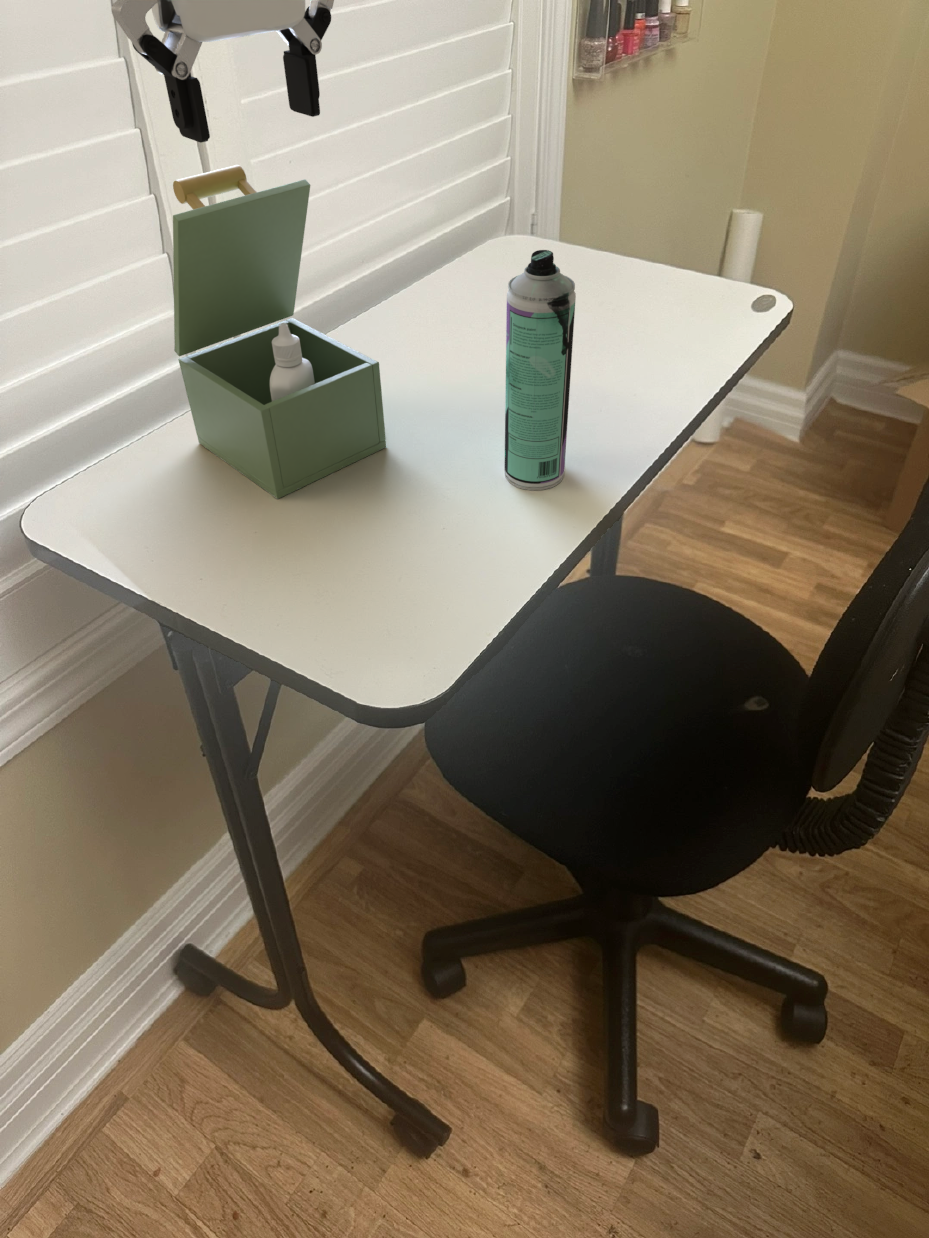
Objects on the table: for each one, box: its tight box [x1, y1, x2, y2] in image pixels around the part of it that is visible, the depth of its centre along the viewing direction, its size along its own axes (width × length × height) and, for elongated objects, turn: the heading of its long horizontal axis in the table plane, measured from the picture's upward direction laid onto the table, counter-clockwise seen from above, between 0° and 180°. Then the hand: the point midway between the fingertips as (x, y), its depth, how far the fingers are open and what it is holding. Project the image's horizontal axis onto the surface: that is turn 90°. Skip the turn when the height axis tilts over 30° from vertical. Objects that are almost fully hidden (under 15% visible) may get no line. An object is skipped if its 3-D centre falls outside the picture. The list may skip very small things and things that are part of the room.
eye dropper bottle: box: [270, 323, 315, 401], centre depth 82 cm, size 4×6×12 cm
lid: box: [172, 164, 311, 357], centre depth 80 cm, size 14×13×6 cm
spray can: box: [504, 249, 577, 491], centre depth 76 cm, size 6×6×20 cm
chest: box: [178, 317, 387, 500], centre depth 85 cm, size 14×13×9 cm
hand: (252, 125), depth 68 cm, fingers open, 9 cm apart
